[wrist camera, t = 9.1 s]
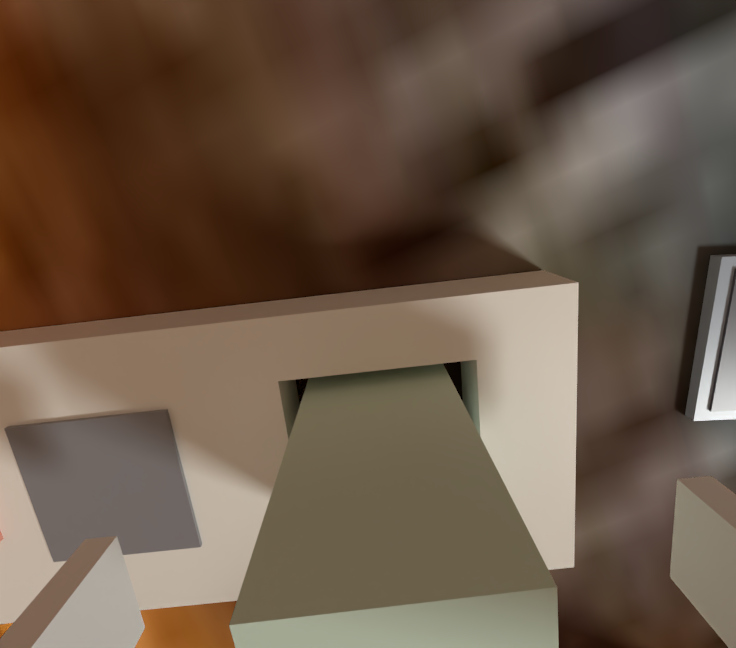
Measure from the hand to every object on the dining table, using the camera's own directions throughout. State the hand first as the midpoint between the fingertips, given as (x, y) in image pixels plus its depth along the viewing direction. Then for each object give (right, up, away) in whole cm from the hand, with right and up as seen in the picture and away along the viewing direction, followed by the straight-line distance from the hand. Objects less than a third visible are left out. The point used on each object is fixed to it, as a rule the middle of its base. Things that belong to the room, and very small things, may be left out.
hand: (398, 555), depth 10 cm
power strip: (-5, +1, +6) cm, 8 cm away
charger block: (0, +2, +6) cm, 6 cm away
